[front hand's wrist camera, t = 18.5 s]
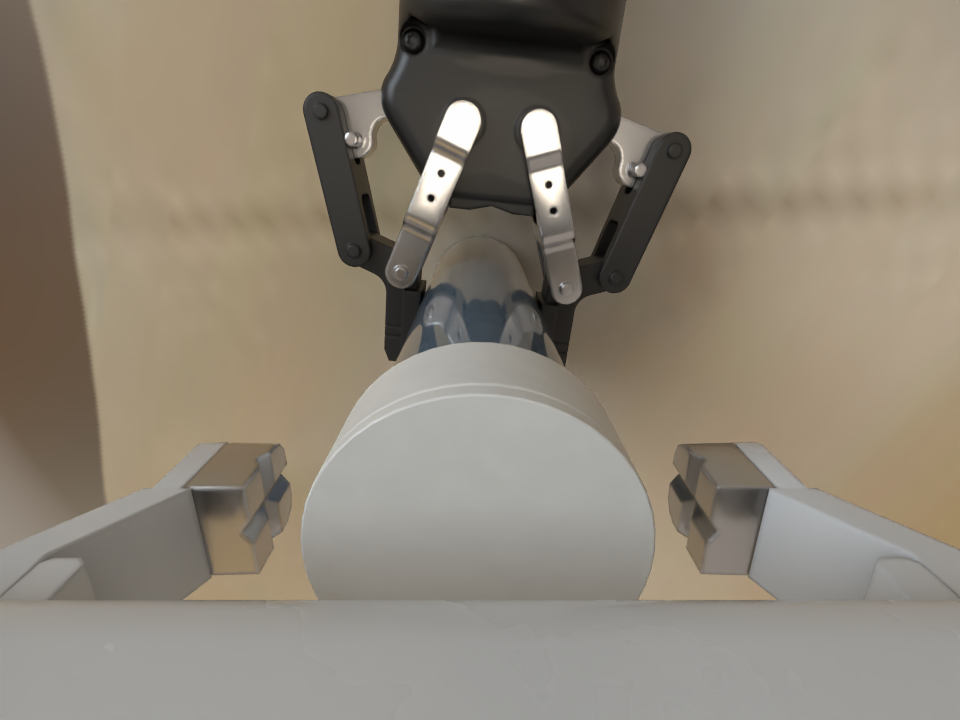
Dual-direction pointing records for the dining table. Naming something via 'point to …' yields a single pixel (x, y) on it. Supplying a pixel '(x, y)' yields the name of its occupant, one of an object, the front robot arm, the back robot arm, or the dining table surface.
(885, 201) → the dining table surface
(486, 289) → the dark grey piece
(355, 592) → the lid
